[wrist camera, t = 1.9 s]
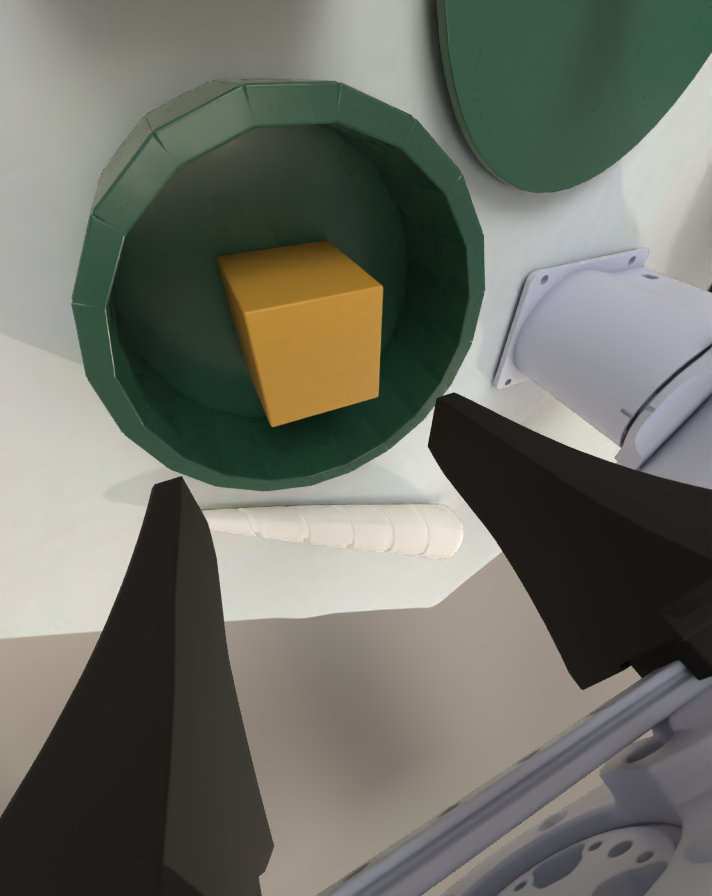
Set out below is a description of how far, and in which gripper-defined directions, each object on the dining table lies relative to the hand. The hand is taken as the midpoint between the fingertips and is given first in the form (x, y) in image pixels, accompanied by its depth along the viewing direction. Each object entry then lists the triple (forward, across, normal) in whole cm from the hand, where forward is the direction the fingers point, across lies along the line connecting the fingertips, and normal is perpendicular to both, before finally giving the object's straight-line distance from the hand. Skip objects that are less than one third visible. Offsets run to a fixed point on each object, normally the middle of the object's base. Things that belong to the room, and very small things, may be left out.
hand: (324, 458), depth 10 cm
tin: (+9, -1, -1) cm, 9 cm away
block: (+8, -1, -1) cm, 9 cm away
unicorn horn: (+9, -3, +17) cm, 20 cm away
